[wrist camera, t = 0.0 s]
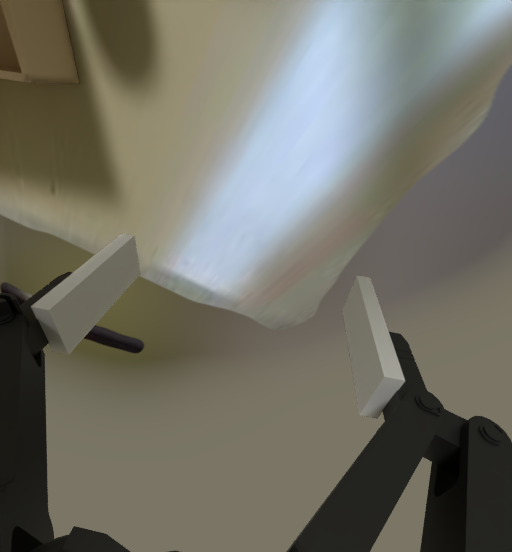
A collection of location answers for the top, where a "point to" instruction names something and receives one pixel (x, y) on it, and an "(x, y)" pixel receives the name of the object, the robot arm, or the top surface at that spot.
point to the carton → (35, 42)
